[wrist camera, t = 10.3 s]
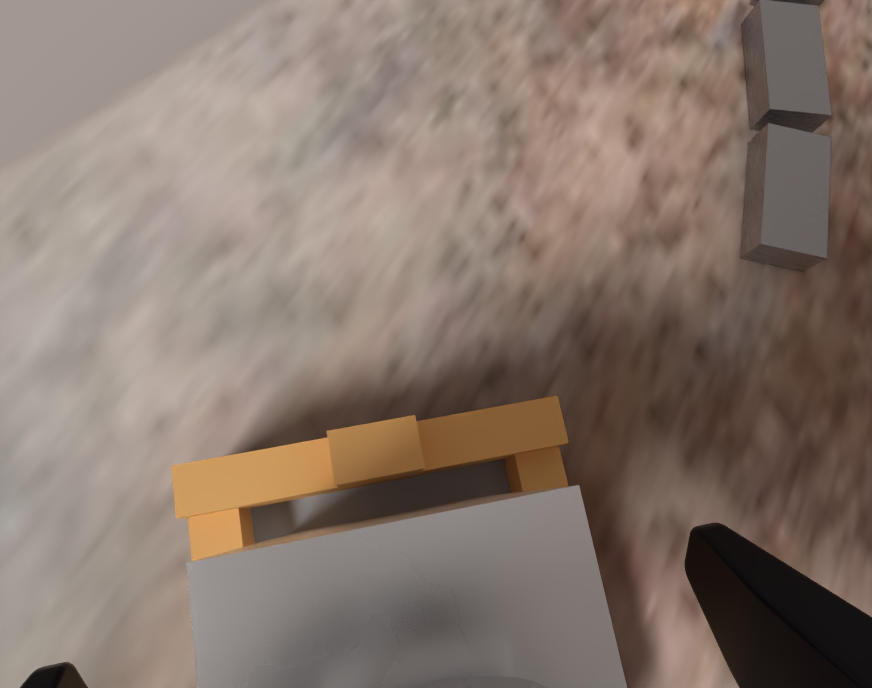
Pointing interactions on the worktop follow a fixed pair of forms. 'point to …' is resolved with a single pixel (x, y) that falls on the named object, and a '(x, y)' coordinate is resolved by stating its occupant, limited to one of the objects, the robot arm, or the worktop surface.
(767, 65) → the grey segmented block chain
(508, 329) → the worktop surface
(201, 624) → the steel link block
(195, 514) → the keeper bracket
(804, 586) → the robot arm
